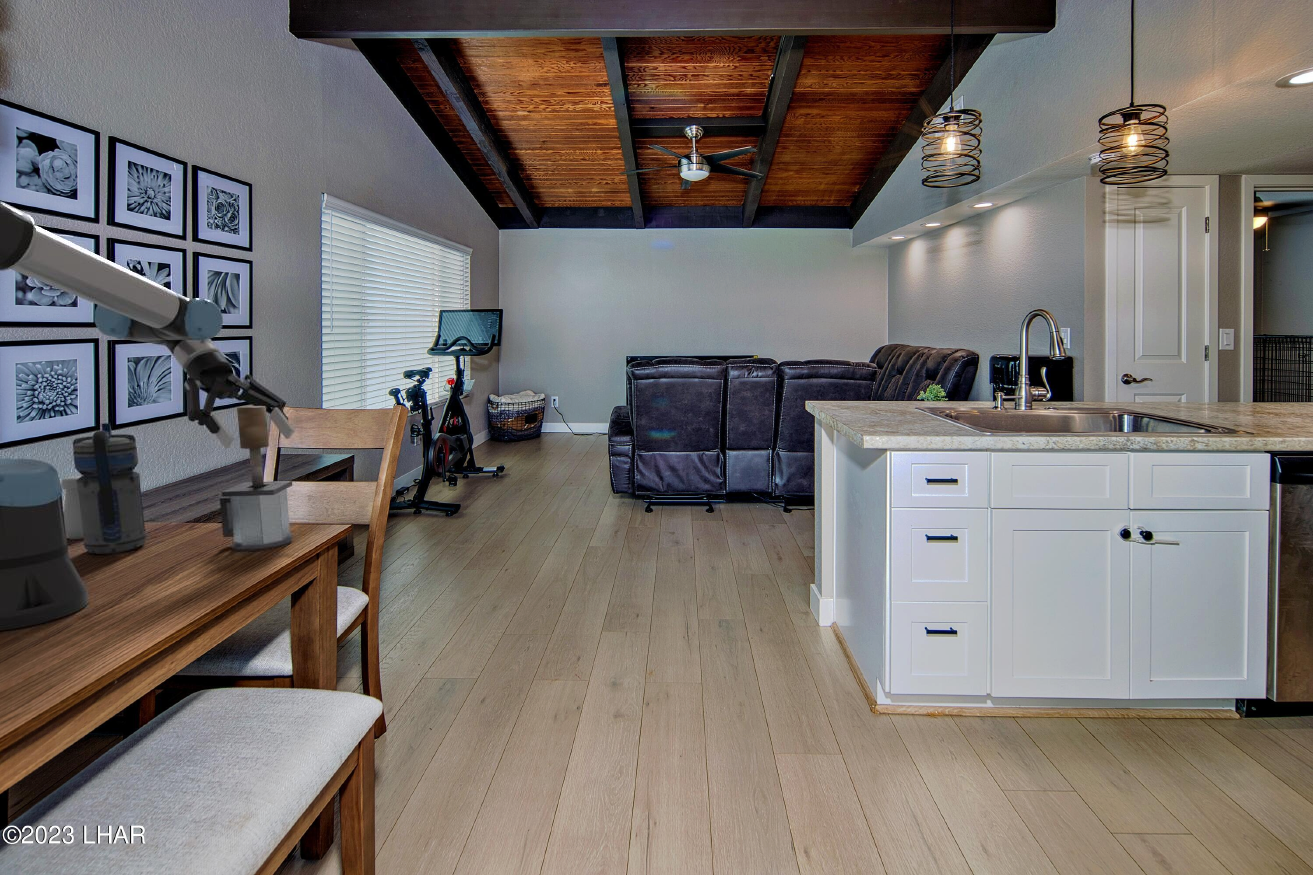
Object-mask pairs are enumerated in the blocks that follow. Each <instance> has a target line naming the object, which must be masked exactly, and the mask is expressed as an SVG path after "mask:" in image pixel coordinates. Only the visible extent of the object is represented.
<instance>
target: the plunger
mask: <svg viewBox="0 0 1313 875" xmlns="http://www.w3.org/2000/svg"><path fill="white" fill-rule="evenodd" d="M236 412H237V422H238V423H237V425H238V433H239V435H238V436H239V445H240V449H244V450H247V449H248V450H249V451H248V452H249V460H250V463H249V464H250V474H251V482H252V486H253V487H261V486H264V482H265V481H264V473H263V461H262V448H268V447H269V446H270V444H269V443H270V442H269V434H268V420H267V419H268V418H267V412H266V406H253V405H251V406H250V405H249V406H247V405H246V406H240V407H238V406H237V407H236Z"/></svg>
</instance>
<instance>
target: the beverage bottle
mask: <svg viewBox="0 0 1313 875" xmlns="http://www.w3.org/2000/svg"><path fill="white" fill-rule="evenodd" d="M136 443H137V440H136V437H135V435H134V434H124V433H123V434H119V433H118V434H117V433H116V434H113V433H112V427H111V423H110V422H108V423H107V422H106V423H105V422H104V423H101V430H97V431H95V432H94V433H93V434H92V436H83V437H77V438H75V439H73V442H72V449H73V450H72V451H73V452H72V455H73V462H74V469H75V470H76V471H77V472H78V473H79V474H80V476H81V477H80V478H78V479H77V480H76V482H77V490H78V494H79V503H80V511H81V519H82V528H83V536H84V538H83V546H84V549H85V550H86V551H87V552H88V553H91V554H97V555H109V554H118V553H124V552H127V551H128V552H129V551H132V550H135V549H137V548H140V547H142V546H143V545H144V544H145V543H146V541H147V530H146V528H145V527H146V526H145V525H146V524H145V517H144V510H143V500H142V490H141V489H142V488H141V481H142V480H141V473H139V472H137V471H135V469H136V468H137V465H138V464H139V456H138V455H139V454H138V447H137V444H136Z"/></svg>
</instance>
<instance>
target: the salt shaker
mask: <svg viewBox="0 0 1313 875" xmlns="http://www.w3.org/2000/svg"><path fill="white" fill-rule="evenodd" d="M81 476H82V475H79V476H77V475H76V476H75V475H74V476H69V477H66V478H63V479H62V480H61V486H62V490H65V498H64V505H63V511H64V520H65V529H66V537H67V539H70V540H80V539H84V536H83V528H82V519H81V511H80V503H79V494H78V490H77V482H76V480H77V479H78V478H80V477H81Z"/></svg>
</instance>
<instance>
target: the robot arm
mask: <svg viewBox="0 0 1313 875" xmlns="http://www.w3.org/2000/svg"><path fill="white" fill-rule="evenodd" d="M8 270H12V271H14V272H17V273H19V274H22V275H24V276H27V277H29V278H32V279H35V280H37V281H38V282H41V283H44V284H46V285H48V286H52V287H54V288H55V289H59V290H61V291H63V292H65V293H69V294H70V295H74V296H76V297H78V298H81V299H83V300H85V301H87V302H90V303H92V304H94V305H95V304H96V305H97V306H96V308H95V311H94V323H95V326H96V327H97V329H98V331H99V332H100V333H101V334H103V335H104V336H108V337H112V338H115V339H118V340H121V339H122V340H129V341H134V342H135V341H136V342H141V343H142V342H143V343H149V344H153V345H157V346H164V347H166V348H167V349H168V351H170V353H171V355H172V356H173V357H174V358H175V360H176V361H177V362H178V365H179V366H180V367H181V368H182V370H184V372H185V373H186V375H187V379H186V381H185V383H184V384H183V386H182V388H183V391H184V392H185V394H186V404H187V419H188V420H189V421H190V422H195V421H197V425H199V426H201V427H203V426H205V427H206V428H207V430H208V431H209V432H210V433H211V434H212V435H213V434H214V435H215V436H216V438H217V439H218V441H219V442H220V443H221V445H222V446H223V447H224V448H225V449H230V447H231V446H232V444H233V442H234V441H235V439H236V437H234V435H233V434H232V432H231V431H230V430H229V428H228V427H227V426H226V425H225V423H224V422H223V420H222V419H221V418H220V416H219V415H218V414H217V413H213V409H214V406H215V403H216V399H218V400H220V401H221V400H226V399H227V400H229V399H231V400H233V399H235V400H237V401H239V402H240V401H241V402H242V401H243V402H246V403H247V404H249V405H251V406H266V413H268V414H270V415H269V416H268V417H269V419H270V421H272V423H273V424H274V426H276V428H277V429H278V430H279V431H280V433H281V434H282V436H283V437H284V438H285V440H290V439H291V437H292V436H293V434H294V433H295V431H296V429H295V428H294V427H293V425H292V424H291V423H290V421H289V417H288V416H287V415H286V413H285V412H284V411H283V410H284V408H285V406H286V405H287V402H286V401H285V400H284V399H282V398H281V397H279V396H278V395H276V394H275V393H274V392H272V391H271V390H269V389H268V388H266V387H265V386H263V385H262V384H260V383H259V382H258V381H256V380H255V378H253V376H252V375H251V374H248V373H247V374H245V376H244V377H240V378H239V376H237V375H235V374H234V372H233V366H232V365H231V364H230V362H229V361H228V360H227V358H226V357H225V356H224V355H223V354H222V353H221V351H220V350H219V348H218V347H217V346H216V345H215V343H214V342H213V341H212V339H213V338H214V337H217V336H218V335H219V333H220V332H221V330H222V328H223V323H224V318H223V313H222V311H221V309H220V308H219V306H218V305H217V304H216V303H215V302H213V301H212V300H209V299H205V298H203V299H202V298H197V297H195V298H188V297H186V296H183V295H181V294H179V293H178V292H175V291H173V290H171V289H168V288H166V287H164V286H163V285H160V284H158V283H156V282H154V281H152V280H150V279H148V278H147V277H143V276H142V275H139V274H137V273H135V272H133V271H132V270H129V269H127V268H125V267H123V266H121V265H119V264H117V263H115V262H112V261H110V260H108V259H106V258H104V257H102V256H100V255H98V254H95V253H93V252H92V251H91V250H90V251H89V250H88V249H86V248H84V247H81V246H79V245H77V244H75V243H74V242H71V241H68V240H67V239H64V238H62V237H61V236H59V235H56V234H54V233H53V232H50V231H48V230H46V229H44V228H42V227H40V226H38V225H36V224H35V221H34V219H33V217H31V215H30V214H28V213H27V212H24V211H22V210H20V209H18V208H16V207H14V206H11V205H10V204H9V203H6V202H4V201H1V200H0V272H5V271H8ZM240 390H242V391H241V393H240ZM200 391H202V392H204V393H206V398H205V400H204V401H205V402H204V405H203V408H202V410H201V405H200V404H201V403H200V394H199V393H200ZM239 393H240V394H239ZM211 414H212V415H211ZM62 494H63V488H62V483H61V481H60V477H59V472H58V470H57V469H56V468H55V466H53V464H51V463H48V462H46V461H42V460H38V459H32V458H31V459H30V458H6V457H5V458H0V631H8V630H16V629H20V628H25V627H26V628H27V627H30V626H36V625H41V624H43V623H47V622H51V621H54V620H57V619H60V618H63V617H66V616H69V615H71V614H74V613H76V612H79V611H80V610H82V609H84V608H85V607H86V606H87V605H88V603H89V601H90V600H89V593H88V587H87V586H86V584H84V582H83V580H82V578H81V576H80V574H79V572H78V571H77V569H76V566H75V565H74V563H73V562H72V560H71V558H70V556H69V548H68V536H67V535H66V529H65V520H64V503H63V495H62Z"/></svg>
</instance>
